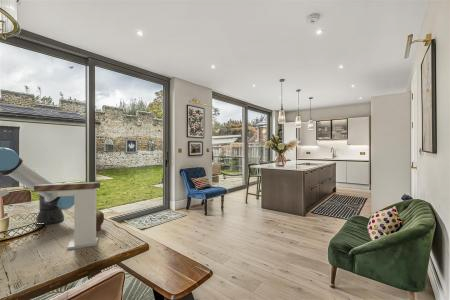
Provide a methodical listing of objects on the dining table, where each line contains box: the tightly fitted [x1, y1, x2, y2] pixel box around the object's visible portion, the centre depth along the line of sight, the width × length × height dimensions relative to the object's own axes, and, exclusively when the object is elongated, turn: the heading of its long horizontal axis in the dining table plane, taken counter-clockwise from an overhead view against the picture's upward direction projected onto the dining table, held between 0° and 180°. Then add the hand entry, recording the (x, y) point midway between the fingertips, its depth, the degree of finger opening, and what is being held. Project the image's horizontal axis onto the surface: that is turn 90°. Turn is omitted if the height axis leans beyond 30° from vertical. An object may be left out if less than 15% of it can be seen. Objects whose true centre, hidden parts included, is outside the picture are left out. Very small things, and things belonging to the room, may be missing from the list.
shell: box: [96, 210, 105, 232], centre depth 139 cm, size 11×11×12 cm
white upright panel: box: [58, 188, 99, 250], centre depth 118 cm, size 17×8×30 cm, turn 114°
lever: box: [33, 181, 101, 193], centre depth 116 cm, size 28×3×3 cm, turn 114°
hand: (1, 193), depth 105 cm, fingers open, 13 cm apart
